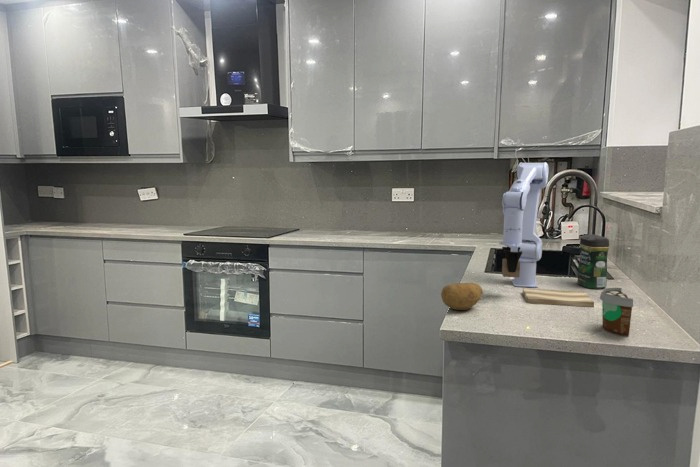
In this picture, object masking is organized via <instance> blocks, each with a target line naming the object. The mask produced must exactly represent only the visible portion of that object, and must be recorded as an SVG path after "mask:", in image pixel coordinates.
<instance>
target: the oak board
mask: <svg viewBox="0 0 700 467" xmlns="http://www.w3.org/2000/svg"><path fill="white" fill-rule="evenodd" d="M522 294H523V297H524V299H525V300H526V302H527V304H534V305H535V304H536V305H537V304H538V305H551V306H552V305H554V306H555V305H556V306H567V307H568V306H569V307H570V306H571V307H584V308H585V307H587V308H594V307H595V302H594V300H592V298H591V297H589V295H587V293H586V292H585V291H581V290H579V291H578V290H562V289H560V290H559V289H541V288H526V287H522Z"/></svg>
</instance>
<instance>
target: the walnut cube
mask: <svg viewBox="0 0 700 467" xmlns="http://www.w3.org/2000/svg"><path fill="white" fill-rule="evenodd" d="M501 262H502V263H501V264H502V266H501V274H502V277H504V278H514V277H519V276H520V261H518V264H517V268H516V272H508V267H507V259H505V258H502V261H501Z"/></svg>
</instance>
